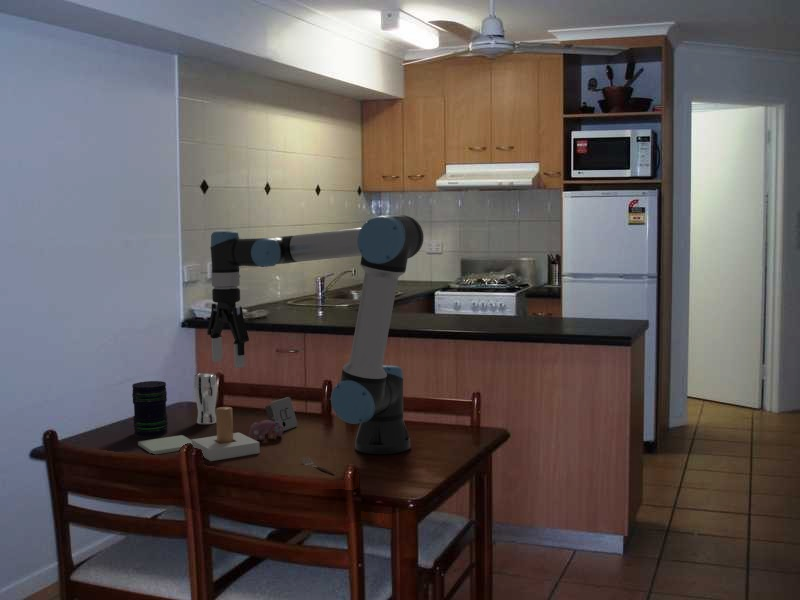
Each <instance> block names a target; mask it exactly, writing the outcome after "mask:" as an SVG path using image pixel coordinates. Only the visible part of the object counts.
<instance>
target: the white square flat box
mask: <svg viewBox="0 0 800 600" xmlns="http://www.w3.org/2000/svg"><path fill="white" fill-rule="evenodd" d="M191 440H192V445H193V447H194V448H198V449H201V450H202V453H203V456H204V457H203V456H202V457H203V458H205V459H206V460H208V461H209V462H213V461H219V460H226V459H232V458H239V457H245V456H250V455H251V456H252V455H256V454H257V455H258V454H260V453H261V450H260V449H261V448H260V441H259V440H258V441H257V440H256V439H253V438H250V437H249V436H248V435H245V434H243V433H241V432H233V442H230V443H224V444H219V443H217V435H212V436H206V437H200V438H191Z"/></svg>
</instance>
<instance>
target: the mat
mask: <svg viewBox="0 0 800 600" xmlns="http://www.w3.org/2000/svg"><path fill="white" fill-rule="evenodd" d="M187 443H191V444H192V439H190V438H188V437H187V436H185V435H183V434H180V435H173V436H167V437H160V438H153V439H147V440H140V441H137V446H139V447H140V448H142V449H143V450H145V451H147V452H148V453H149V454H151V453H153V454H155V455H160V454H161V455H162V454H166V453H167V454H168V453H172V452H173V453H174V452H180V451H179V450H180V448H181V447H182V446H183V445H185V444H187Z"/></svg>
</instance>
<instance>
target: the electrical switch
mask: <svg viewBox="0 0 800 600" xmlns="http://www.w3.org/2000/svg"><path fill="white" fill-rule="evenodd" d="M264 408H265V412H266V416H267V420H270V421H274V422H275V421H278V422H279V423H281V425H282V426H283V432H285V431H288V430H291V429H293V428H295V427H298V421H297V417H296V414H295V410H294V407H293V401H292V398H291V397H290V396H286V397H284V398H281V399H278V400H274V401H271V402H270V404H269V405H266V406H264Z"/></svg>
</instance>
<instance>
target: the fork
mask: <svg viewBox="0 0 800 600" xmlns="http://www.w3.org/2000/svg"><path fill="white" fill-rule="evenodd" d="M300 459H301V461H302V463H303V465H304V466H309V465H311V467H312V468H315V469H317V470H319V471H320V472H322V473H326V474H328V475H332V476H336V474H334V473H333V472H331V471H329V470H328V469H327V468H324V467H320V466H316V465H314V462H313V461H312V459H311V458H310V456H309V455H308V454H307V456H306V455H305V456H300Z"/></svg>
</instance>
